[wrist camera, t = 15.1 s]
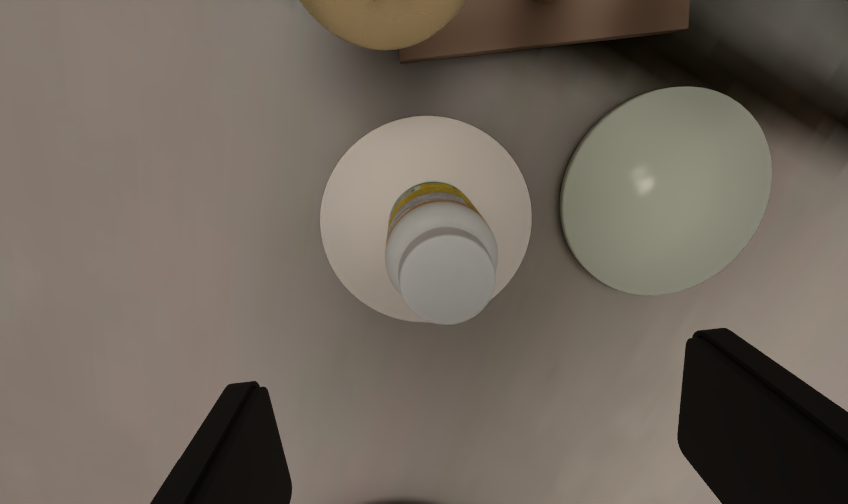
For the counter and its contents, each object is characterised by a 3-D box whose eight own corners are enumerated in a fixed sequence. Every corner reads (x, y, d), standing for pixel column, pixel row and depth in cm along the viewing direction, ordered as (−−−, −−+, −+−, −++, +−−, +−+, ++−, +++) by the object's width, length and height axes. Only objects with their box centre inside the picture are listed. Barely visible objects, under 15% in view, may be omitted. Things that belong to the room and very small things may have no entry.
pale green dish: (767, 76, 27) (786, 74, 25) (743, 276, 31) (758, 283, 29) (554, 100, 27) (562, 99, 25) (557, 297, 31) (565, 306, 29)
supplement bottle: (389, 178, 26) (382, 213, 17) (479, 181, 26) (520, 218, 17) (388, 264, 28) (381, 338, 19) (472, 266, 28) (506, 340, 19)
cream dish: (521, 104, 27) (528, 103, 25) (529, 301, 31) (535, 309, 29) (306, 128, 26) (301, 129, 25) (341, 323, 30) (339, 333, 29)
